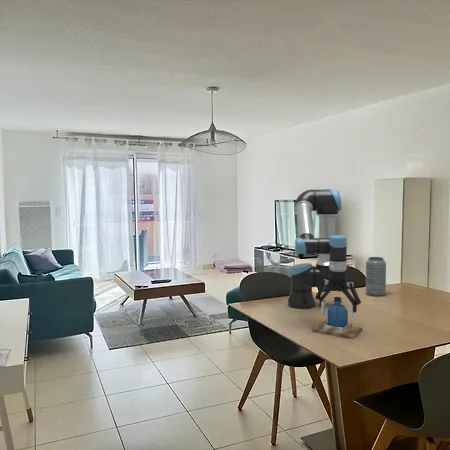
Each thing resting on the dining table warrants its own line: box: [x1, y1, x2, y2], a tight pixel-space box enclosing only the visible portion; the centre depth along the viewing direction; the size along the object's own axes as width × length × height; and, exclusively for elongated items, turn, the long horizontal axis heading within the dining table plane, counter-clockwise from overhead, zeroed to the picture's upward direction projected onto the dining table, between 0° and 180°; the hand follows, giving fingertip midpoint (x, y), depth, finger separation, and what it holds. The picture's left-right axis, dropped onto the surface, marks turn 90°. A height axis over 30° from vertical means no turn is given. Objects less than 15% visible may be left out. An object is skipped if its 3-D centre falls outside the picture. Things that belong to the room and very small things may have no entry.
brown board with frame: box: [311, 320, 363, 340], centre depth 187 cm, size 18×14×3 cm
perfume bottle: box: [327, 296, 349, 327], centre depth 186 cm, size 6×6×12 cm
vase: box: [365, 256, 387, 297], centre depth 256 cm, size 12×12×23 cm
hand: (337, 317), depth 187 cm, fingers open, 13 cm apart
